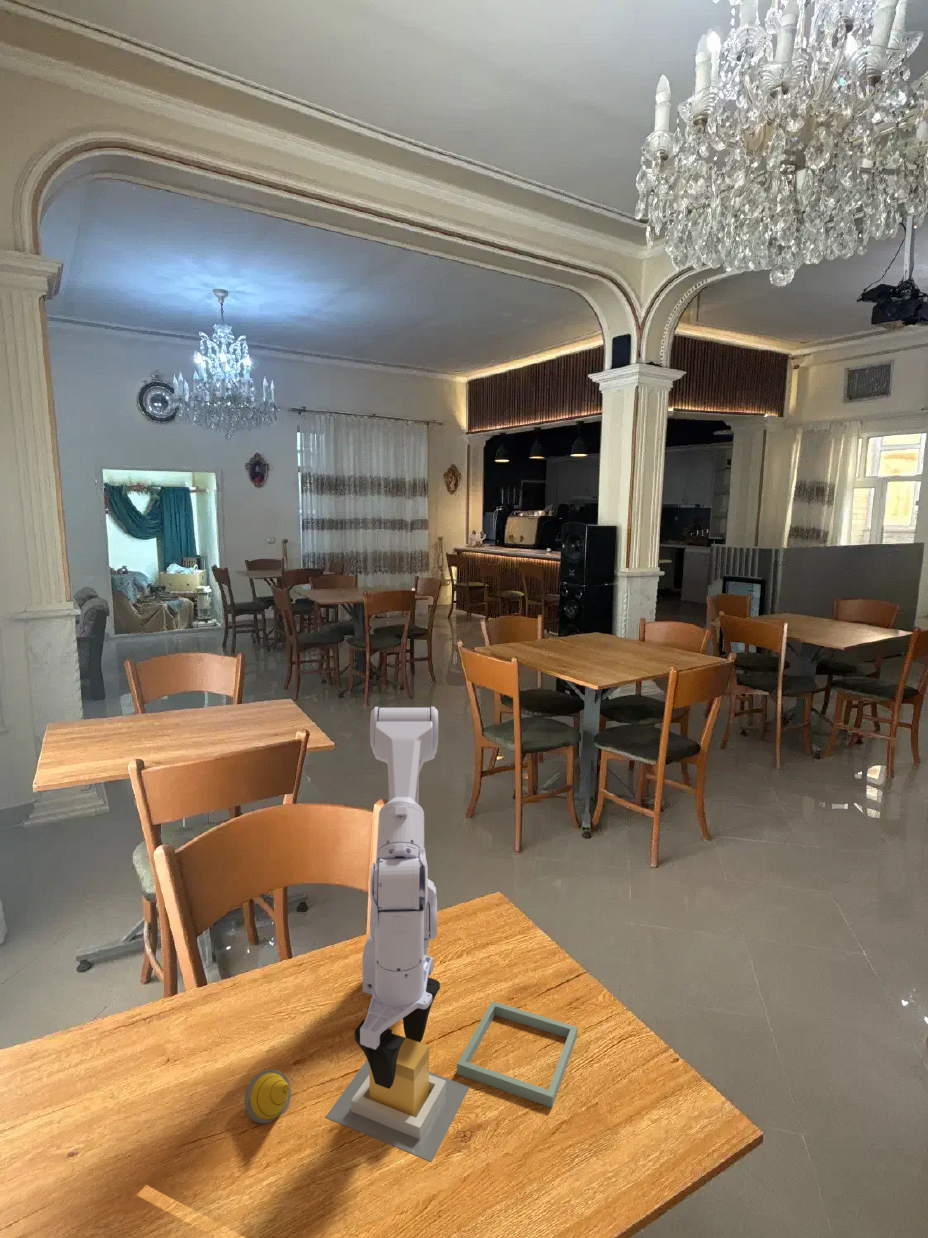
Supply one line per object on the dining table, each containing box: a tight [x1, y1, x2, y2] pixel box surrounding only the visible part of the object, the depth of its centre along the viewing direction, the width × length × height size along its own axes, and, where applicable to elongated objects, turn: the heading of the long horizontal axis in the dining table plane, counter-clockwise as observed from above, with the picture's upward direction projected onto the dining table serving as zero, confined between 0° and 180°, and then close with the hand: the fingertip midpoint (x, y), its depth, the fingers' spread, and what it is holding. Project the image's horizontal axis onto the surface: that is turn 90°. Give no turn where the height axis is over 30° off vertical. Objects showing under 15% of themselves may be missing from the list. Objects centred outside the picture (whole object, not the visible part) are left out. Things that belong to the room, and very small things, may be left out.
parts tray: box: [456, 1000, 578, 1109], centre depth 90 cm, size 13×13×2 cm
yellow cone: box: [244, 1068, 292, 1125], centre depth 80 cm, size 5×5×10 cm
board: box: [324, 1059, 470, 1163], centre depth 82 cm, size 14×11×2 cm
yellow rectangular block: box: [369, 1032, 430, 1118], centre depth 82 cm, size 6×4×7 cm, turn 67°
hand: (399, 1060), depth 81 cm, fingers open, 7 cm apart
